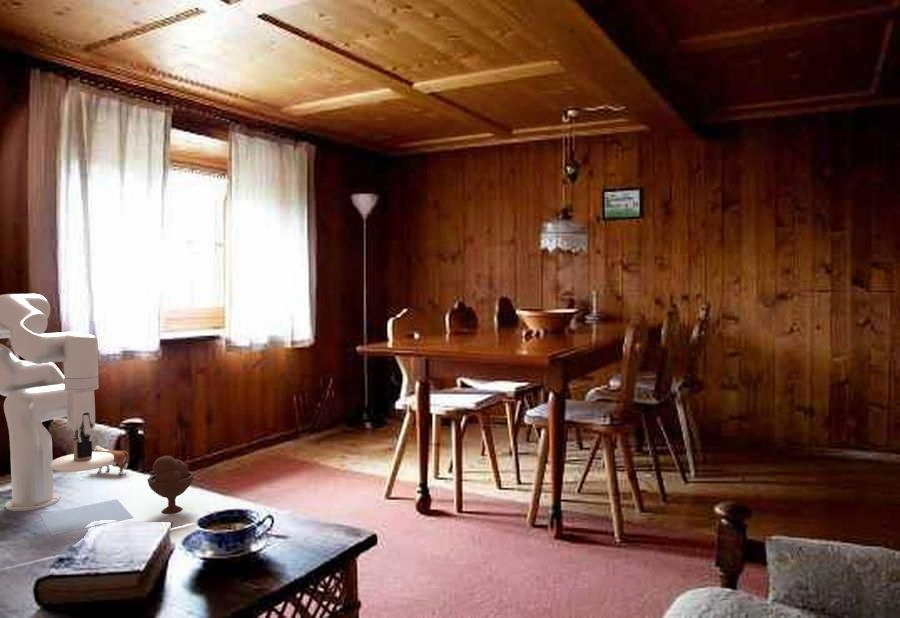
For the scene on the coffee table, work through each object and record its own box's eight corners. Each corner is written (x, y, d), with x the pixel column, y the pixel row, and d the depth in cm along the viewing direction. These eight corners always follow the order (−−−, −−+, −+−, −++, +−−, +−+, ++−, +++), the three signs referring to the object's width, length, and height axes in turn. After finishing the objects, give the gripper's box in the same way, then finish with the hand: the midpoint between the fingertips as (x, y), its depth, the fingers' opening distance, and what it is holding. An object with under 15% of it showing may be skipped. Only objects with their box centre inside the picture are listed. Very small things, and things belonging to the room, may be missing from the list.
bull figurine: (98, 469, 210) (97, 443, 209) (132, 472, 206) (131, 446, 205) (87, 472, 205) (86, 447, 205) (121, 476, 202) (120, 450, 201)
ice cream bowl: (178, 521, 163) (177, 462, 163) (139, 518, 166) (137, 459, 165) (203, 506, 174) (201, 451, 173) (165, 504, 176) (164, 449, 175)
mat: (40, 516, 167) (39, 514, 167) (116, 501, 179) (116, 499, 179) (51, 537, 153) (50, 535, 153) (133, 519, 165) (133, 517, 165)
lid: (46, 461, 167) (46, 438, 166) (107, 452, 176) (106, 430, 175) (56, 475, 156) (55, 450, 155) (119, 464, 165) (119, 441, 164)
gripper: (58, 380, 169) (60, 450, 170) (70, 390, 156) (72, 465, 157) (91, 377, 173) (92, 445, 174) (105, 386, 160) (106, 460, 161)
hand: (82, 454), depth 166 cm, fingers closed on lid, 4 cm apart
